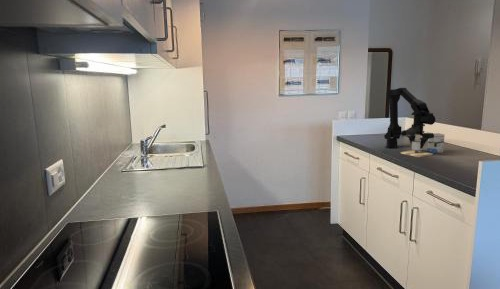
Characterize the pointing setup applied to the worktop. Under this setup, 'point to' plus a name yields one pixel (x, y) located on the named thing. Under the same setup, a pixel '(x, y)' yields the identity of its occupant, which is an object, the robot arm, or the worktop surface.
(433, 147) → the ink box
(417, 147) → the tube
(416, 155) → the shaft block
